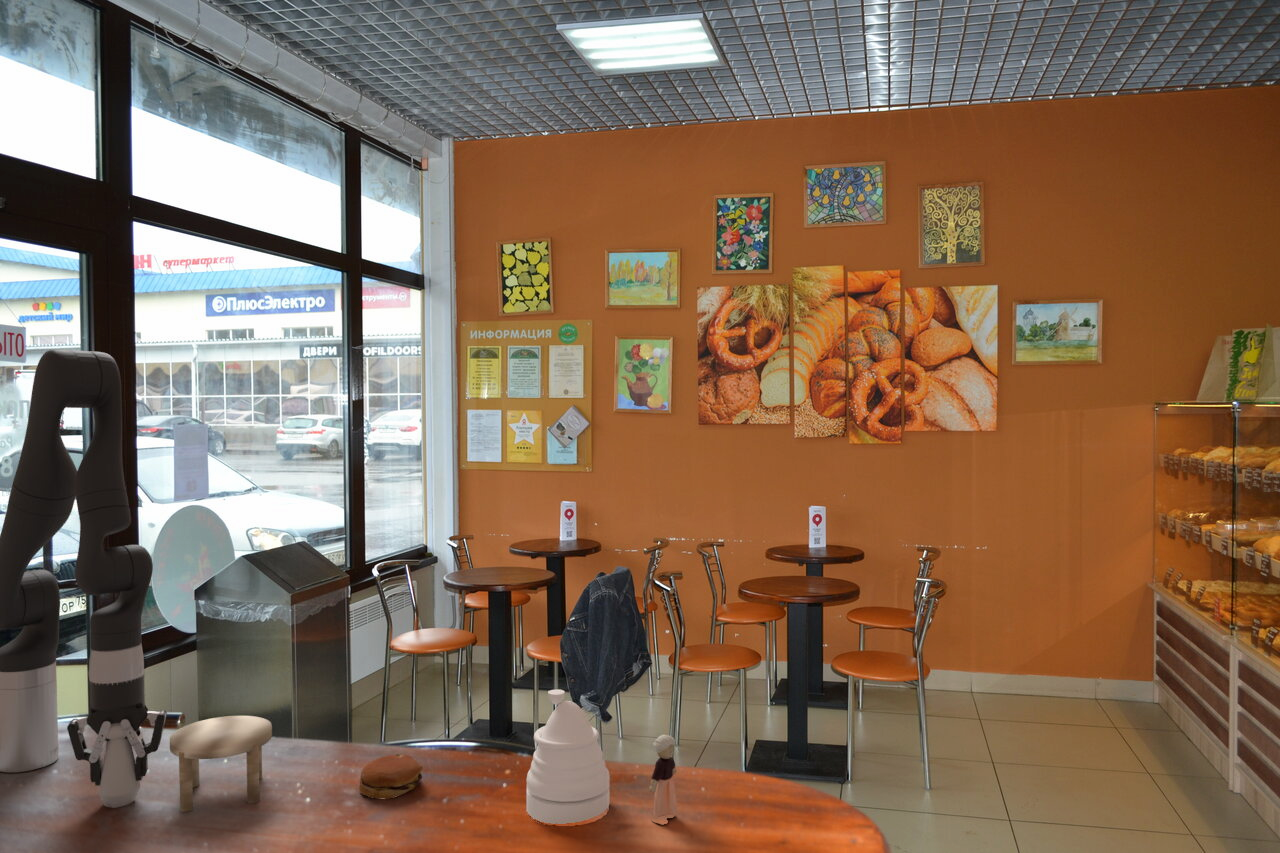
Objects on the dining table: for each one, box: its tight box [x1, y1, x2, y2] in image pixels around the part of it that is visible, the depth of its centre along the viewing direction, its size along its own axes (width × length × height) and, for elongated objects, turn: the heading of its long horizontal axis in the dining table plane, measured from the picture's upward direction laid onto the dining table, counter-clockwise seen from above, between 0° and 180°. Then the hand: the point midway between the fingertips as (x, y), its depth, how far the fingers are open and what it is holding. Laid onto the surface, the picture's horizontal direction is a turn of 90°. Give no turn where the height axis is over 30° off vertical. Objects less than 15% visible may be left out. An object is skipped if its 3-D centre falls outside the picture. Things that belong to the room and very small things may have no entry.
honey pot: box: [525, 688, 611, 824], centre depth 149 cm, size 13×13×18 cm
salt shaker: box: [98, 723, 141, 809], centre depth 152 cm, size 6×6×13 cm
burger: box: [358, 753, 424, 800], centre depth 157 cm, size 10×9×5 cm
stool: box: [169, 715, 273, 813], centre depth 155 cm, size 15×15×10 cm
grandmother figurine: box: [648, 734, 678, 817], centre depth 146 cm, size 8×4×13 cm, turn 163°
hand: (119, 780), depth 152 cm, fingers open, 5 cm apart
